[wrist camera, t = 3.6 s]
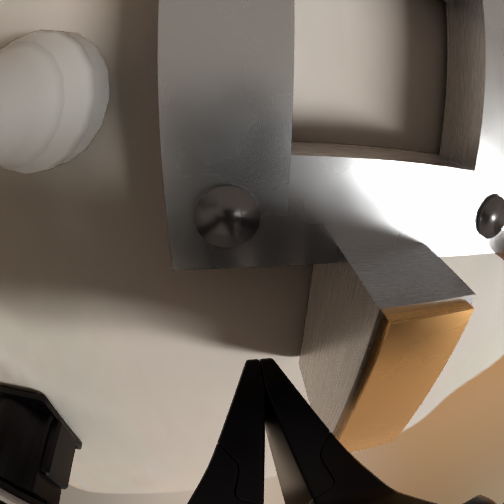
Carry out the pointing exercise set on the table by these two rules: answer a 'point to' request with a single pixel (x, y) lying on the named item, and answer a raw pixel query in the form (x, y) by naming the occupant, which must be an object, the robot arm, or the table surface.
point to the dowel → (501, 254)
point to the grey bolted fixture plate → (334, 201)
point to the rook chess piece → (49, 99)
